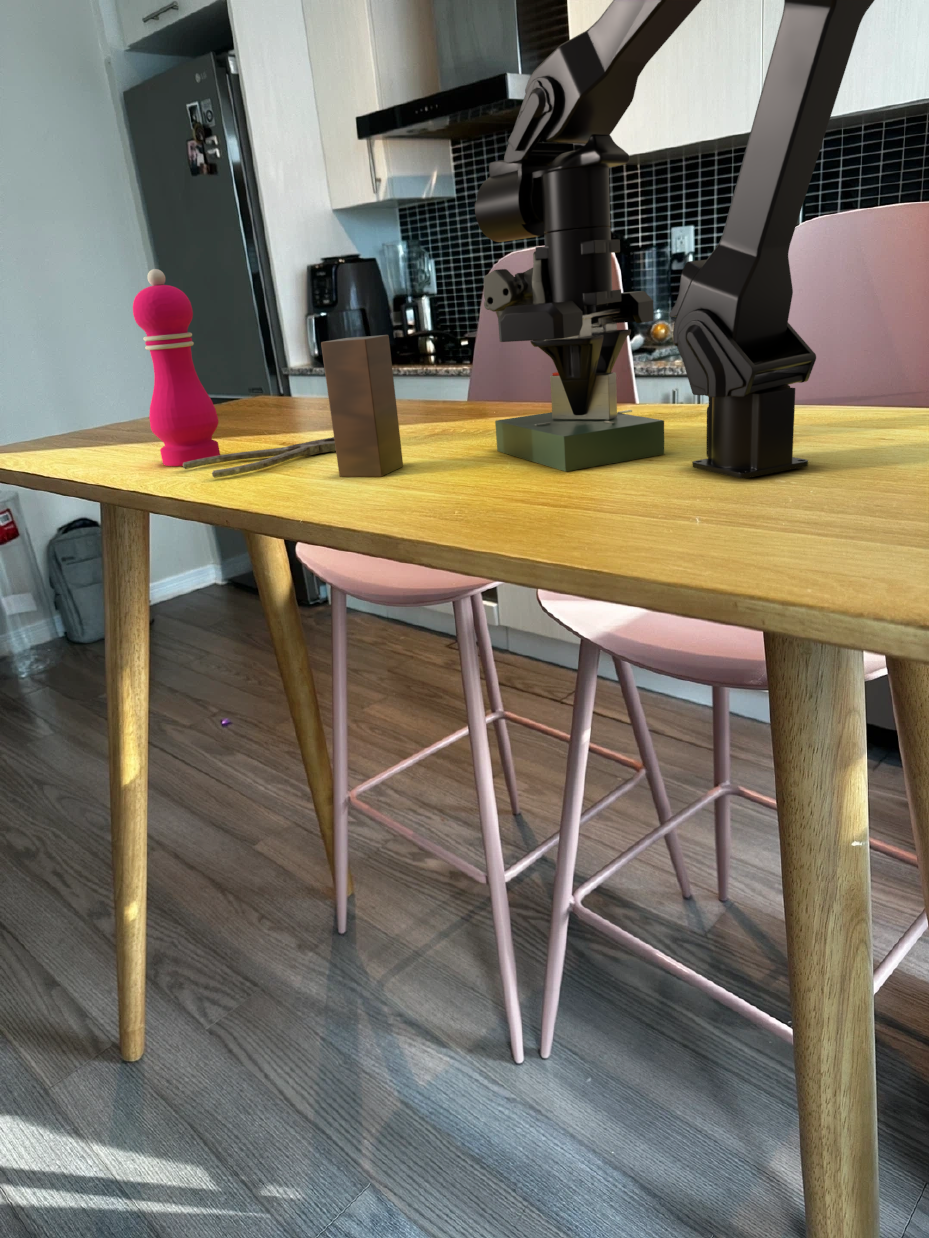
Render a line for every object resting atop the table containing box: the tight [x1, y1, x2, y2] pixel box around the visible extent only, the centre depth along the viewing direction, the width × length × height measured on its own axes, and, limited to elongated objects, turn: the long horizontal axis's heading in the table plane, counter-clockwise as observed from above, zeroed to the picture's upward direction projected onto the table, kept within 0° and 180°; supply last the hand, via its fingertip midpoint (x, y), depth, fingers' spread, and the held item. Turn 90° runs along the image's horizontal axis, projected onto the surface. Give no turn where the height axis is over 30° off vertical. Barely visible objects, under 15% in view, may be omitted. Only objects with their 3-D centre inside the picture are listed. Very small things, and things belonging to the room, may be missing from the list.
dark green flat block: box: [494, 409, 665, 472], centre depth 83 cm, size 14×11×3 cm
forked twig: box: [182, 436, 336, 479], centre depth 95 cm, size 10×1×20 cm
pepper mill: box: [132, 268, 221, 467], centre depth 95 cm, size 7×7×20 cm
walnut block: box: [320, 334, 404, 478], centre depth 81 cm, size 4×4×12 cm
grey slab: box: [549, 371, 618, 420], centre depth 81 cm, size 6×2×4 cm, turn 55°
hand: (584, 413), depth 82 cm, fingers closed on grey slab, 2 cm apart
